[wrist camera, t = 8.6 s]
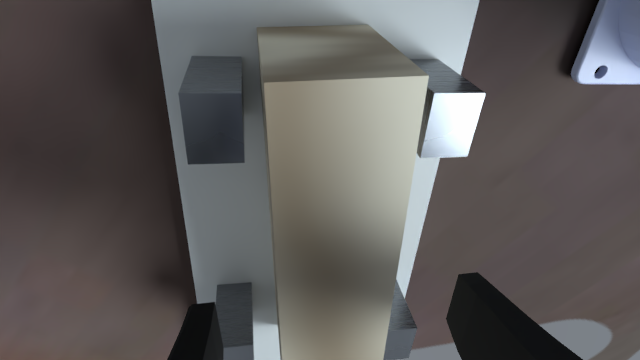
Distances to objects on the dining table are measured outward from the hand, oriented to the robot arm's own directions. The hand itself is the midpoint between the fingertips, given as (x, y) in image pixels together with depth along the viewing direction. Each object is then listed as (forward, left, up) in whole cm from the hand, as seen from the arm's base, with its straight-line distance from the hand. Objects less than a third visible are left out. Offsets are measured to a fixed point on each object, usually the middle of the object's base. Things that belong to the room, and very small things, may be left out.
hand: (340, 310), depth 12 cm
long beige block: (0, 0, -5) cm, 5 cm away
